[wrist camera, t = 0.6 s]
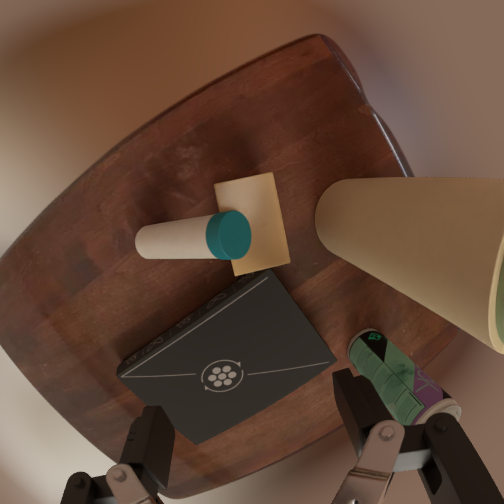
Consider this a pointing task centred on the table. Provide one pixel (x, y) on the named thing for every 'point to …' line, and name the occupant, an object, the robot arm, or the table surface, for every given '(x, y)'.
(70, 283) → the table surface
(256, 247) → the prop block
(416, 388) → the spray can
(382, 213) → the pedestal
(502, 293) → the pad
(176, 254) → the vial
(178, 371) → the book
